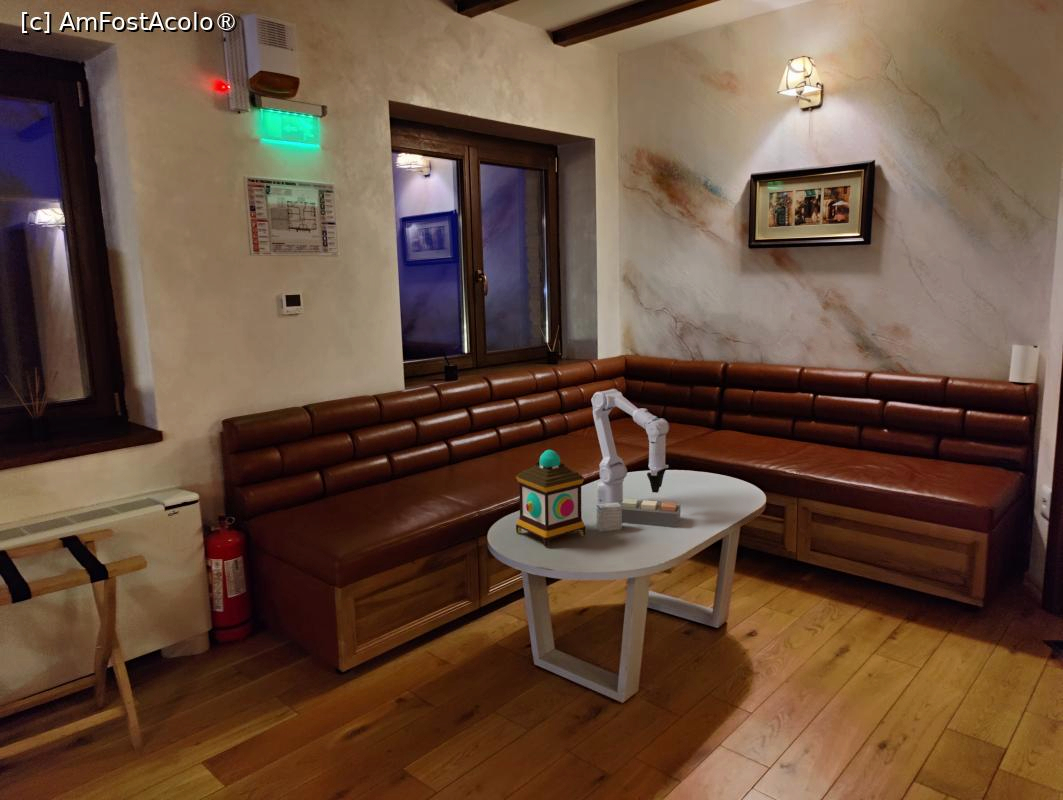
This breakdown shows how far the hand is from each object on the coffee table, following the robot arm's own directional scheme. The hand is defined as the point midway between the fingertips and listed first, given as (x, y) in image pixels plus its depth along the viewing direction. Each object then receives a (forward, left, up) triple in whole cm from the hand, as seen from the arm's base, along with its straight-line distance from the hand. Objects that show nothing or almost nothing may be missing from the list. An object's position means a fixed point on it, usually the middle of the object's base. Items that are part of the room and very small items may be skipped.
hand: (656, 489), depth 265 cm
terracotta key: (+5, -4, -7) cm, 9 cm away
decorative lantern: (-32, -27, -11) cm, 43 cm away
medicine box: (-14, -16, -11) cm, 24 cm away
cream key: (-2, -4, -7) cm, 8 cm away
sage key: (-9, -4, -7) cm, 12 cm away
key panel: (-2, -4, -10) cm, 11 cm away
